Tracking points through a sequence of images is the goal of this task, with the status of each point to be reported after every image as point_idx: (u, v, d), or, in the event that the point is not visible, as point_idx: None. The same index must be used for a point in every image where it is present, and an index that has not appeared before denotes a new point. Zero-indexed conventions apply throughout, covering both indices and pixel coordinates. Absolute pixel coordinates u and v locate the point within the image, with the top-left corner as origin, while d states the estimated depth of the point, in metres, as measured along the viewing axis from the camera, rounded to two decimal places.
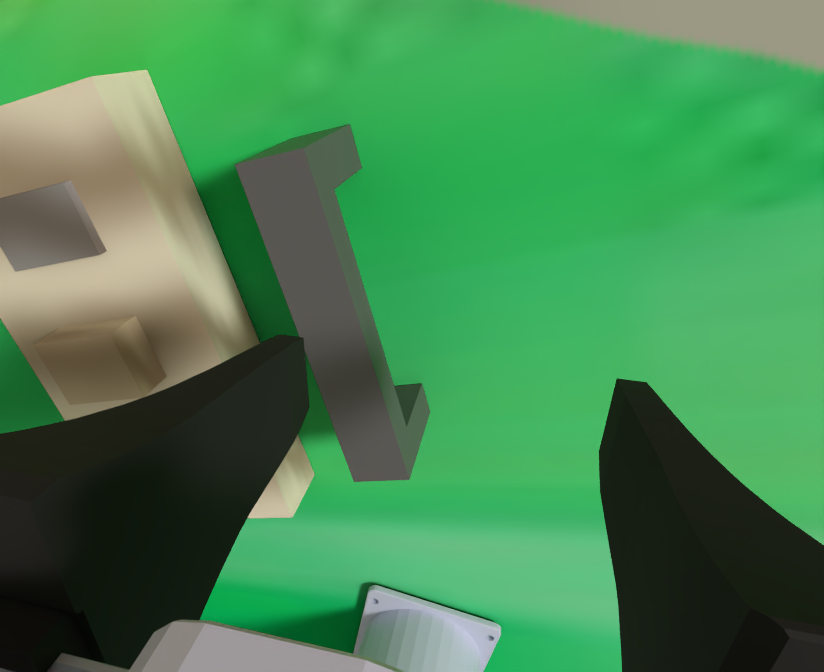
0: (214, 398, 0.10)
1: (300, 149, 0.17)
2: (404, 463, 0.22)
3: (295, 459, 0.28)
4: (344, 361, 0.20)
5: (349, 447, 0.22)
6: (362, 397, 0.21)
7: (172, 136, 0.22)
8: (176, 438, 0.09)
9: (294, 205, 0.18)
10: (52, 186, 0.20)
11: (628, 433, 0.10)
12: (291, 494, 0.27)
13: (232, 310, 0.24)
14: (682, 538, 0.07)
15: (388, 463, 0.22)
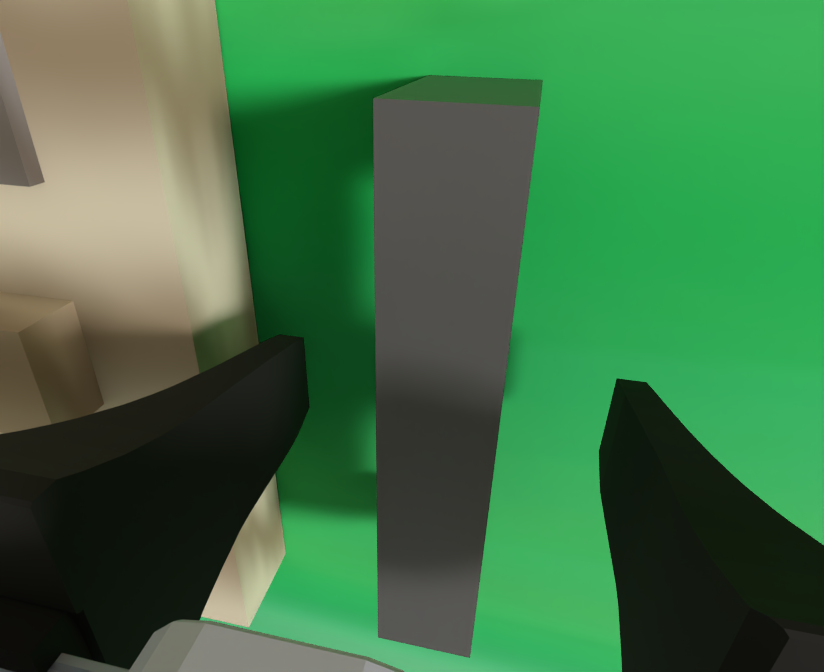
0: (214, 398, 0.10)
1: (531, 108, 0.08)
2: None
3: (269, 539, 0.19)
4: (440, 485, 0.12)
5: (391, 596, 0.14)
6: (447, 541, 0.12)
7: (212, 9, 0.12)
8: (176, 438, 0.09)
9: (466, 213, 0.09)
10: None
11: (628, 433, 0.10)
12: (254, 593, 0.18)
13: (237, 321, 0.15)
14: (683, 538, 0.07)
15: (446, 631, 0.14)
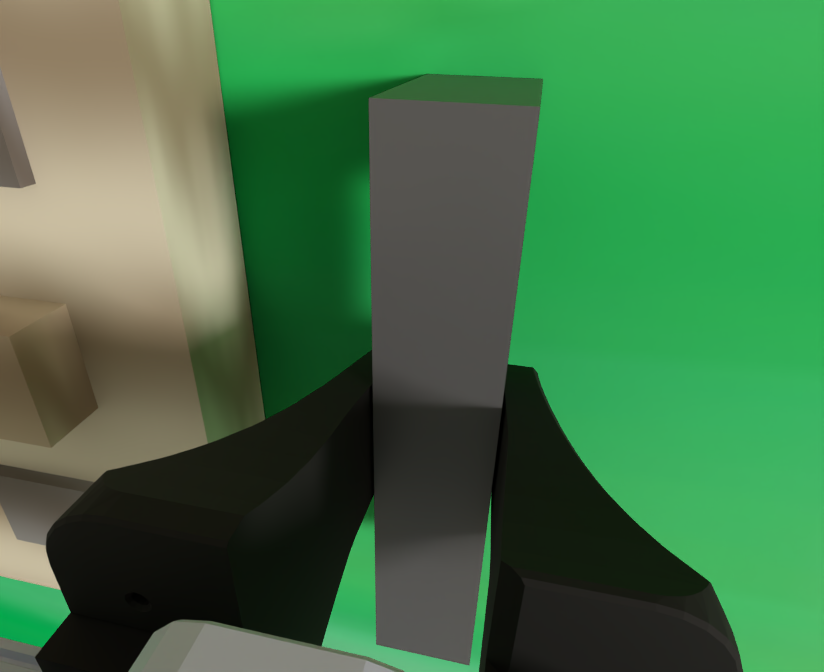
0: (341, 418, 0.09)
1: (531, 107, 0.08)
2: (471, 645, 0.14)
3: None
4: (439, 491, 0.11)
5: (389, 603, 0.13)
6: (446, 548, 0.12)
7: (206, 7, 0.12)
8: (318, 462, 0.08)
9: (465, 216, 0.08)
10: None
11: (502, 414, 0.11)
12: None
13: (233, 324, 0.15)
14: (502, 506, 0.08)
15: (445, 638, 0.14)
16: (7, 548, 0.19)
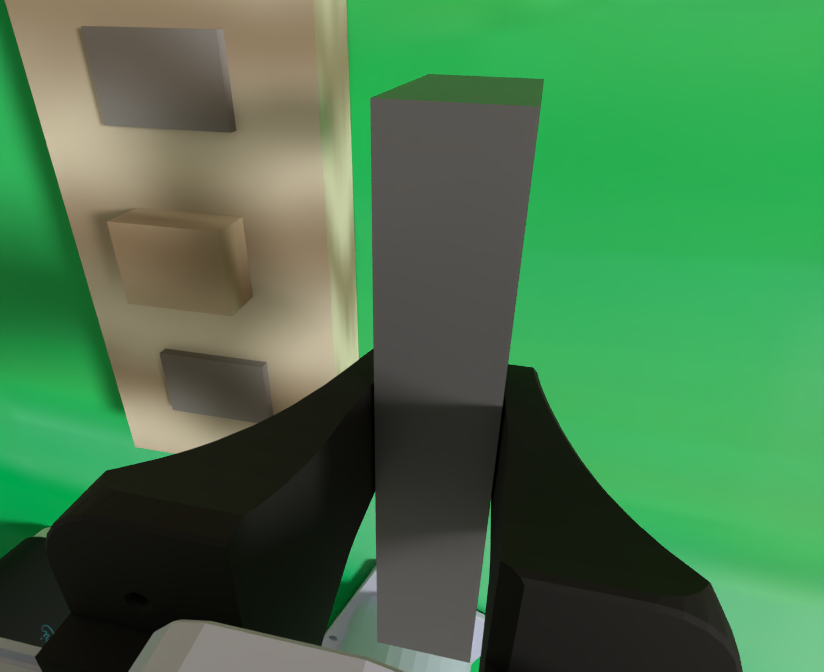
0: (341, 418, 0.09)
1: (531, 108, 0.08)
2: None
3: None
4: (439, 489, 0.11)
5: (390, 601, 0.13)
6: (446, 546, 0.12)
7: (345, 13, 0.18)
8: (317, 462, 0.08)
9: (466, 215, 0.09)
10: (200, 30, 0.16)
11: (501, 414, 0.11)
12: None
13: (346, 238, 0.21)
14: (502, 506, 0.08)
15: (445, 636, 0.14)
16: (158, 422, 0.25)
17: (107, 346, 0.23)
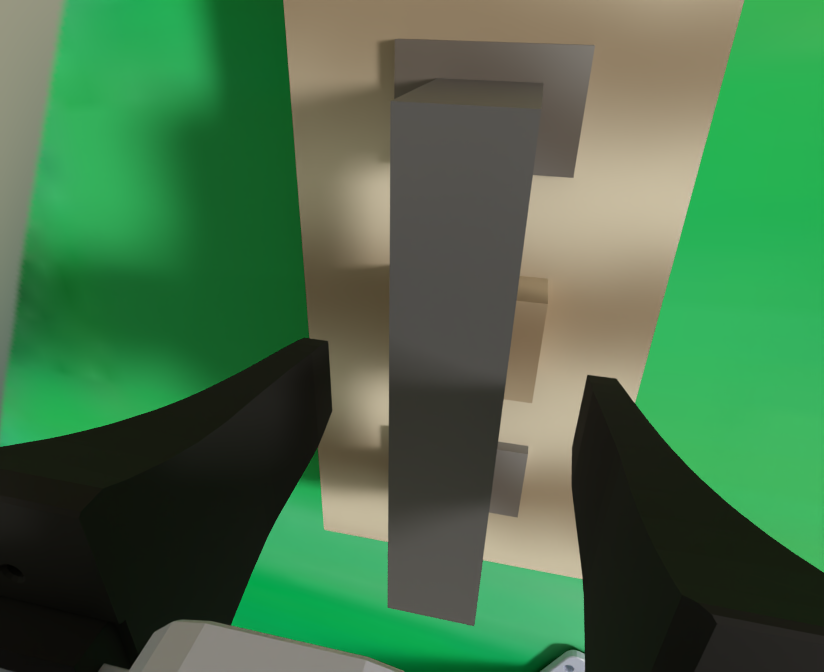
0: (246, 403, 0.10)
1: (533, 110, 0.09)
2: (476, 606, 0.15)
3: None
4: (448, 459, 0.12)
5: (400, 567, 0.14)
6: (454, 513, 0.13)
7: None
8: (212, 444, 0.09)
9: (474, 205, 0.10)
10: (570, 46, 0.12)
11: (594, 428, 0.10)
12: None
13: None
14: (634, 529, 0.07)
15: (452, 600, 0.15)
16: (362, 505, 0.21)
17: None
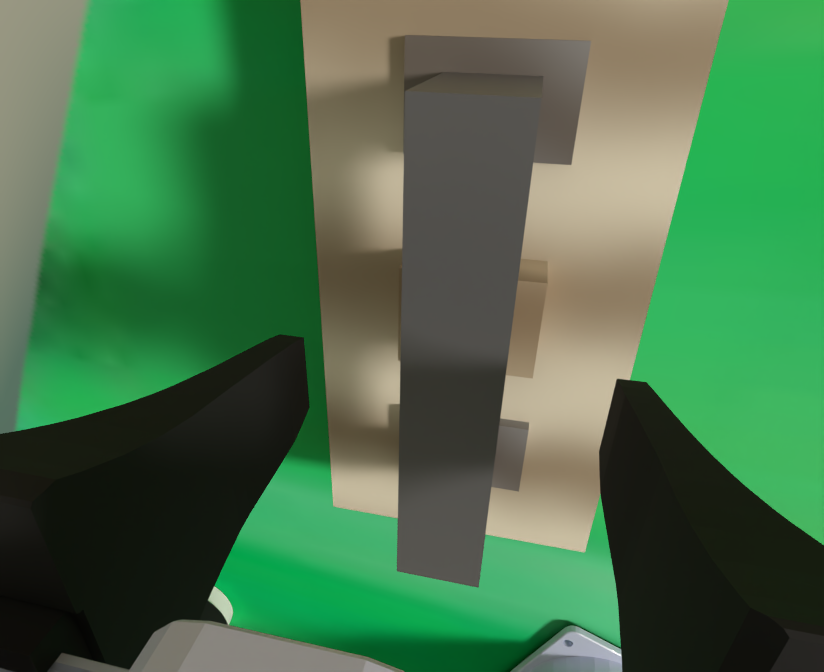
0: (214, 398, 0.10)
1: (534, 98, 0.10)
2: (480, 568, 0.16)
3: None
4: (455, 426, 0.13)
5: (409, 531, 0.15)
6: (460, 477, 0.14)
7: None
8: (176, 438, 0.09)
9: (481, 186, 0.10)
10: (568, 42, 0.13)
11: (628, 433, 0.10)
12: None
13: None
14: (683, 538, 0.07)
15: (457, 562, 0.16)
16: (370, 482, 0.22)
17: (328, 399, 0.20)
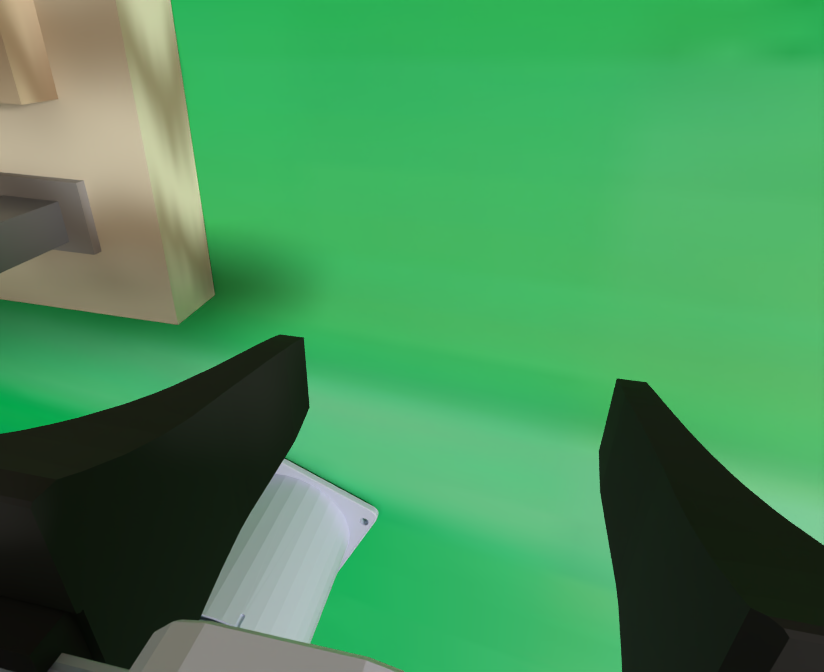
0: (214, 398, 0.10)
1: None
2: None
3: (196, 264, 0.24)
4: None
5: None
6: None
7: None
8: (176, 438, 0.09)
9: None
10: None
11: (628, 433, 0.10)
12: (183, 299, 0.23)
13: (161, 43, 0.20)
14: (683, 538, 0.07)
15: None
16: None
17: None
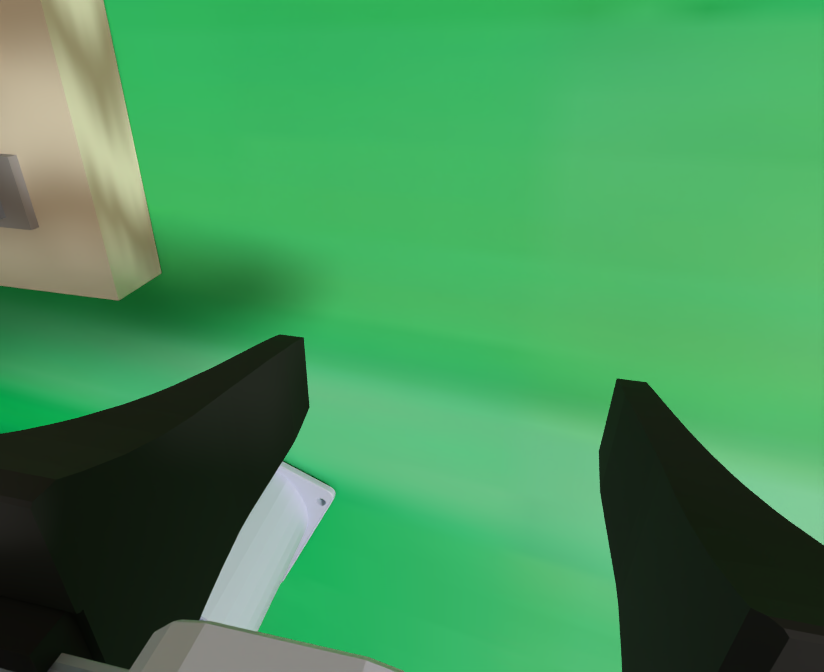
0: (214, 398, 0.10)
1: None
2: None
3: (139, 240, 0.24)
4: None
5: None
6: None
7: None
8: (176, 438, 0.09)
9: None
10: None
11: (628, 433, 0.10)
12: (123, 275, 0.23)
13: (88, 15, 0.20)
14: (683, 538, 0.07)
15: None
16: None
17: None
